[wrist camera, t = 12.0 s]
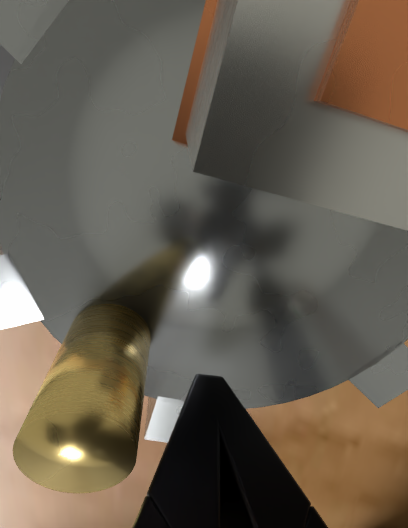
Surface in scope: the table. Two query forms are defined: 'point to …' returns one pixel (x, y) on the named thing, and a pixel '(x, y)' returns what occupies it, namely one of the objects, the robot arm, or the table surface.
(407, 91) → the link block
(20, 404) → the table surface
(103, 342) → the sprocket
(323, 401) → the table surface
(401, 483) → the table surface
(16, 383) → the table surface
